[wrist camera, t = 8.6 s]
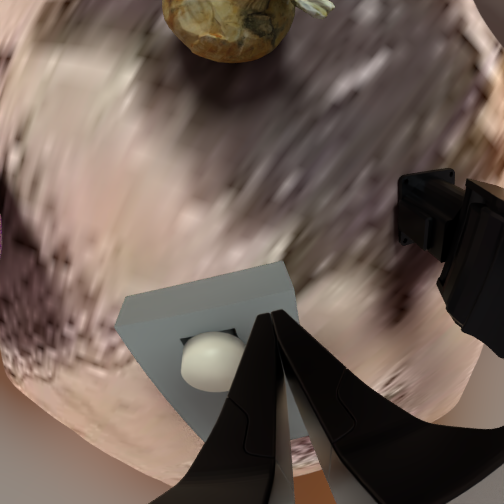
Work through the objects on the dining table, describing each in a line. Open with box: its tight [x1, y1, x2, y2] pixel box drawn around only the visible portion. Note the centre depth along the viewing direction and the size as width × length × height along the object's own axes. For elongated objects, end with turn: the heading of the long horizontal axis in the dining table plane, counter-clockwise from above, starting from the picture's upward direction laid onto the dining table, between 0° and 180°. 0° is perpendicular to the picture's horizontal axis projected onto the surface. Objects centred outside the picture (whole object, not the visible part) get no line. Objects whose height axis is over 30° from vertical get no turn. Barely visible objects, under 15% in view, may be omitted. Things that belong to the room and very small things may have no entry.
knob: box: [181, 328, 246, 392], centre depth 22 cm, size 5×5×6 cm
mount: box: [114, 261, 309, 442], centre depth 28 cm, size 14×26×4 cm, turn 12°
